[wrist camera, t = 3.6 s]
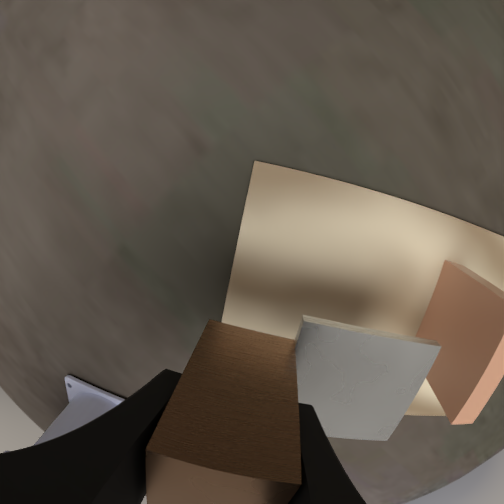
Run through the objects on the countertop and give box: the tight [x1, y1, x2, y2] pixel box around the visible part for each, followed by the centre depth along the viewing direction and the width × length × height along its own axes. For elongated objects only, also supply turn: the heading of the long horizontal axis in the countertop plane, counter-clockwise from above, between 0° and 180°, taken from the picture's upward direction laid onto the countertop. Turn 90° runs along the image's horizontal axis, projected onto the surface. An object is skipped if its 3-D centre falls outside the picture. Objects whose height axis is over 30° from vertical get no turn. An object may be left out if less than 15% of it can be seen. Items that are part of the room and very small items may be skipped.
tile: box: [415, 260, 504, 424], centre depth 13 cm, size 6×2×7 cm, turn 168°
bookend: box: [146, 315, 442, 504], centre depth 8 cm, size 5×8×6 cm, turn 77°
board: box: [222, 161, 504, 416], centre depth 17 cm, size 14×22×1 cm, turn 78°
